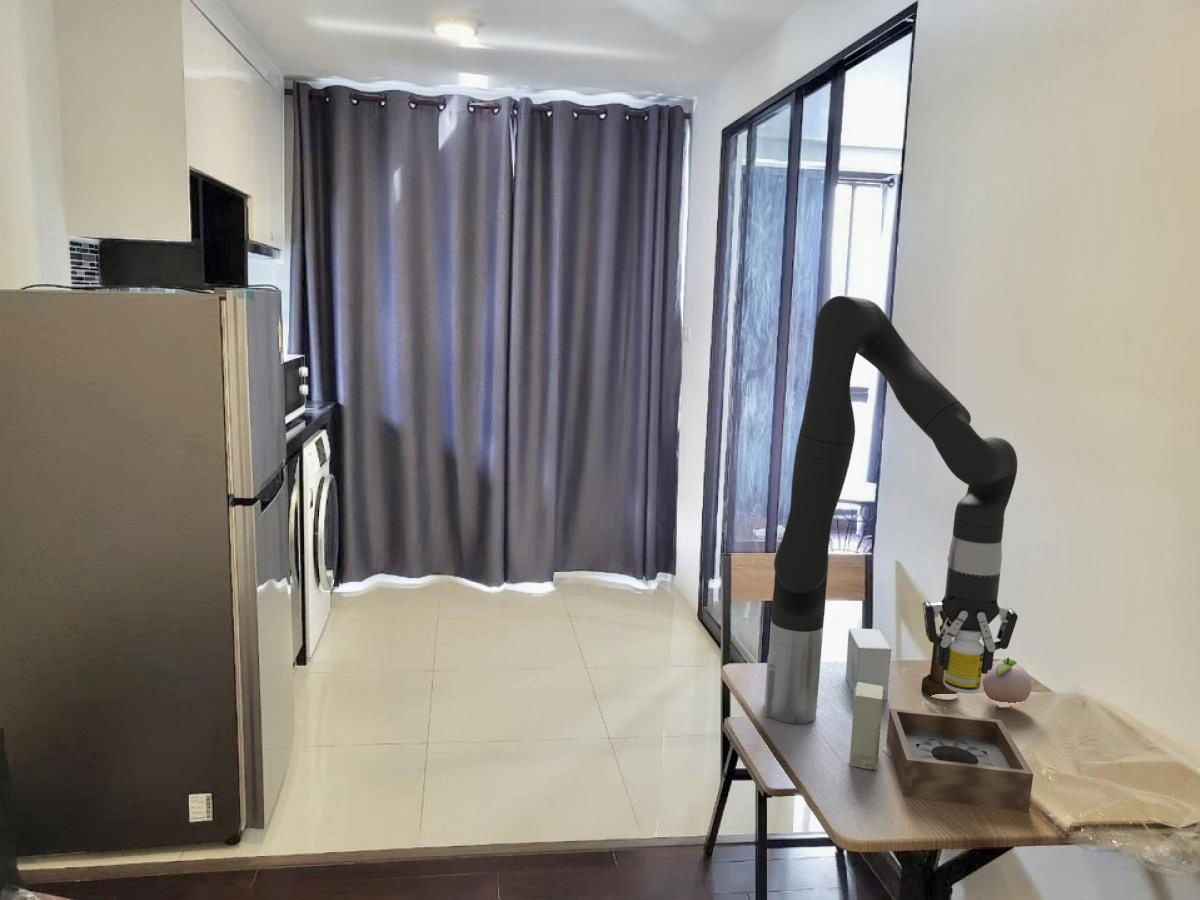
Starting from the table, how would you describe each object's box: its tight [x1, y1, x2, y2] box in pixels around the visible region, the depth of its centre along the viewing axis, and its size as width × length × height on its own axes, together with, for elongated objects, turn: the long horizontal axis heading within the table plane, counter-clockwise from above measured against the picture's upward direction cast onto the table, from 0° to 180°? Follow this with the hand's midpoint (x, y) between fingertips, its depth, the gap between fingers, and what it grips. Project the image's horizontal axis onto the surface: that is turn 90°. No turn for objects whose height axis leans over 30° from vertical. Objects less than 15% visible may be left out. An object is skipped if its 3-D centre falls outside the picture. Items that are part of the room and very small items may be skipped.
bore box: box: [886, 708, 1034, 812], centre depth 143 cm, size 18×18×6 cm
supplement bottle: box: [943, 630, 984, 694], centre depth 141 cm, size 5×5×10 cm
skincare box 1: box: [845, 627, 892, 701], centre depth 175 cm, size 10×6×10 cm, turn 175°
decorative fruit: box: [982, 657, 1032, 703], centre depth 168 cm, size 9×8×10 cm
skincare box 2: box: [849, 682, 884, 771], centre depth 146 cm, size 6×4×12 cm
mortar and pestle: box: [920, 610, 958, 697], centre depth 173 cm, size 7×6×18 cm
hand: (963, 669), depth 141 cm, fingers closed on supplement bottle, 5 cm apart
